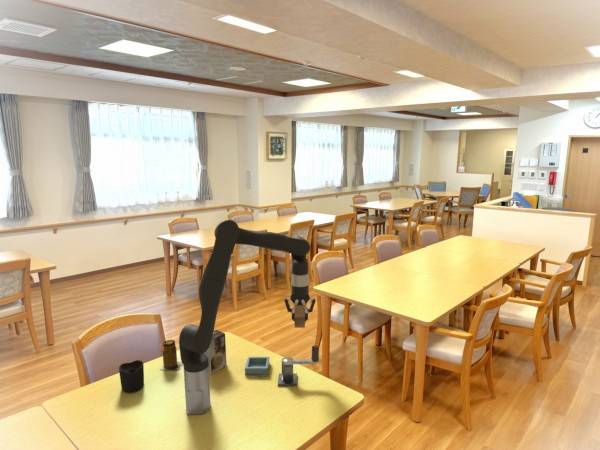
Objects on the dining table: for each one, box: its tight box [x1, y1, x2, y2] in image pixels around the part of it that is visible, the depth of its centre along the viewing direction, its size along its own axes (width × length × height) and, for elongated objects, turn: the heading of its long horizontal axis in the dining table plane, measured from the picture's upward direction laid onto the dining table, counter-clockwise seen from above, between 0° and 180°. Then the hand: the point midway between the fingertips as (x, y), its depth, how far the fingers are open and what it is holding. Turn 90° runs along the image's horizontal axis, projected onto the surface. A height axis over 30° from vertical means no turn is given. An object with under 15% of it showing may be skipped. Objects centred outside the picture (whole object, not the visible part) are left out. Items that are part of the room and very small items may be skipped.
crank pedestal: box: [277, 364, 298, 387], centre depth 176 cm, size 24×8×8 cm, turn 0°
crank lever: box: [281, 345, 320, 366], centre depth 167 cm, size 16×5×7 cm, turn 90°
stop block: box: [294, 305, 306, 329], centre depth 171 cm, size 4×4×10 cm
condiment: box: [160, 339, 183, 371], centre depth 180 cm, size 7×8×12 cm
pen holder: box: [118, 359, 145, 394], centre depth 164 cm, size 9×9×10 cm
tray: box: [244, 356, 270, 377], centre depth 178 cm, size 10×10×4 cm
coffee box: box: [204, 329, 227, 374], centre depth 179 cm, size 9×6×16 cm
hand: (299, 320), depth 171 cm, fingers closed on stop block, 4 cm apart
